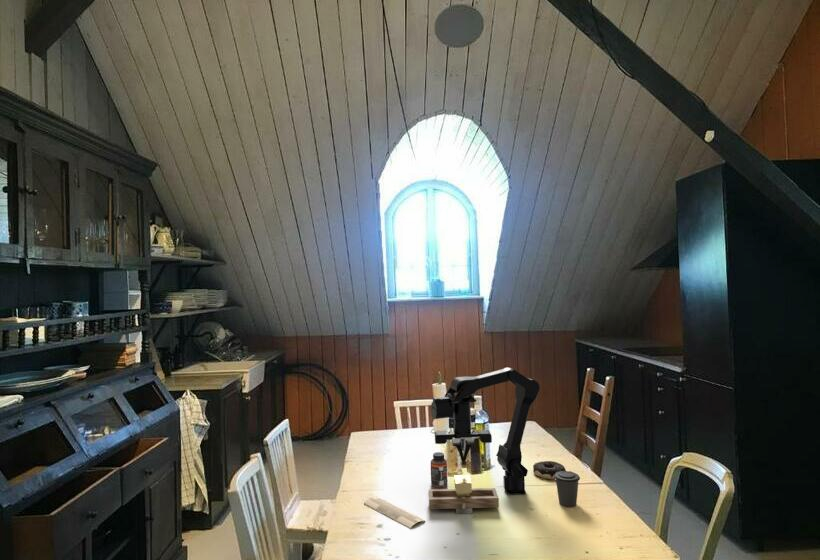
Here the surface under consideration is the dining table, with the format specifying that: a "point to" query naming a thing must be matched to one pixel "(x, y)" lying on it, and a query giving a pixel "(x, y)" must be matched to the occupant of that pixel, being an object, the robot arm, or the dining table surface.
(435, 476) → the supplement bottle
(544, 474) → the donut
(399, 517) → the beige piece
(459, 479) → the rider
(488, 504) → the brown wooden rectangular tray
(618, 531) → the dining table surface
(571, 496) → the coffee cup
